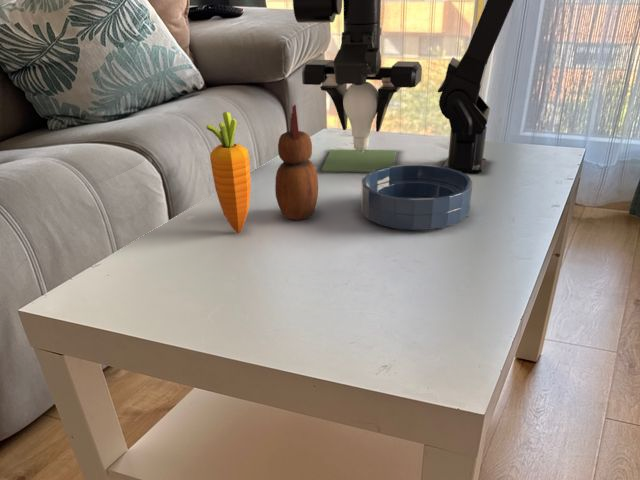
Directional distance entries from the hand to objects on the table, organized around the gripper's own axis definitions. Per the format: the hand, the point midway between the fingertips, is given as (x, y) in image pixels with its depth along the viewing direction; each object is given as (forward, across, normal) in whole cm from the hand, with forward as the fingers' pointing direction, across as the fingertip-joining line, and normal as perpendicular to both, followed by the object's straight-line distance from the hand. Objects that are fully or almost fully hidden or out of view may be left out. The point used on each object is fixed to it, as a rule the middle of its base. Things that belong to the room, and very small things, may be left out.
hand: (361, 130), depth 108 cm
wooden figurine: (+5, -2, -27) cm, 28 cm away
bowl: (+5, +14, -22) cm, 27 cm away
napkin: (+5, 0, 0) cm, 5 cm away
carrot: (+5, -8, -35) cm, 36 cm away
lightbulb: (+4, 0, 0) cm, 4 cm away
